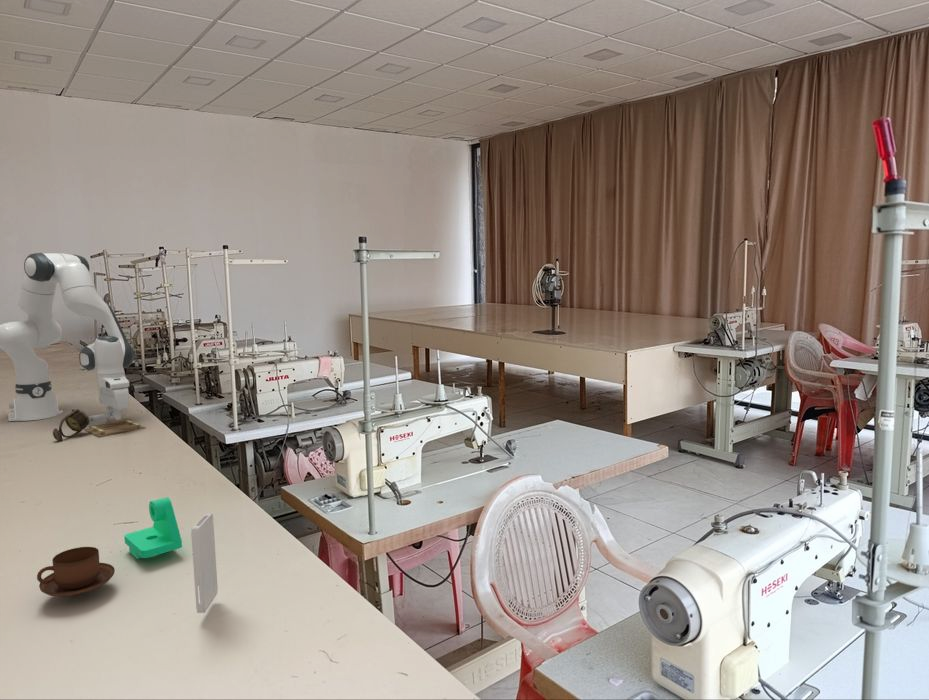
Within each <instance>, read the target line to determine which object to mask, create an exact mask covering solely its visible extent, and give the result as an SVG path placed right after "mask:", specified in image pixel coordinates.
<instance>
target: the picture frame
mask: <svg viewBox="0 0 929 700" xmlns="http://www.w3.org/2000/svg"><path fill="white" fill-rule="evenodd" d="M143 429H146V427H145V426H143V425H141V424H139V423H137V422H134V421H131V420H129V419H124V420H123V419H122V420H118V421H117V420H115V421H110V422H107V423H103V424H97V425H89V428H85V429H83V431H85V432H87V433H88V434H90V435H93V436H94V437H96V438H98V439H100V438H104V437H109V436H110V437H111V436H114V435H119V434H120V435H121V434H123V433H129V432H135V431H138V430H143Z"/></svg>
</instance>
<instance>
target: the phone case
mask: <svg viewBox="0 0 929 700" xmlns="http://www.w3.org/2000/svg"><path fill="white" fill-rule="evenodd" d="M214 525H215V524H214V514H213V513H204V514H203V515H202V516H201V517H200V519H198V521H196V523H195V524H194V525H193V526H192V528H191V531H190V532H191V533H190V536H191V546H192V547H191V550H192V551H191V552H192V566H193V578H194V581H193V582H194V590H195V591H194V592H195V593H194V594H195V608H196V612H197V613H198V614H205V613H206V611H207V610H208V609H209V607H210V606H211V604H212V603H213V601H214V599H215V598H216V596H217V595H218V588H219V586H218V573H217V572H218V571H217V560H216V559H217V558H216V542H215V541H216V540H215V526H214Z"/></svg>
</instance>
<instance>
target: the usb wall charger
mask: <svg viewBox="0 0 929 700" xmlns="http://www.w3.org/2000/svg"><path fill="white" fill-rule="evenodd" d="M88 417H89V420H90V422H89V424H88V425H89V426H91V425H97V424H103V423H108V422H107V421H109V420H111V417H109V416H106V414H105V413H104V414H102V413H99V414H95V415H90V416H88Z"/></svg>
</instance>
